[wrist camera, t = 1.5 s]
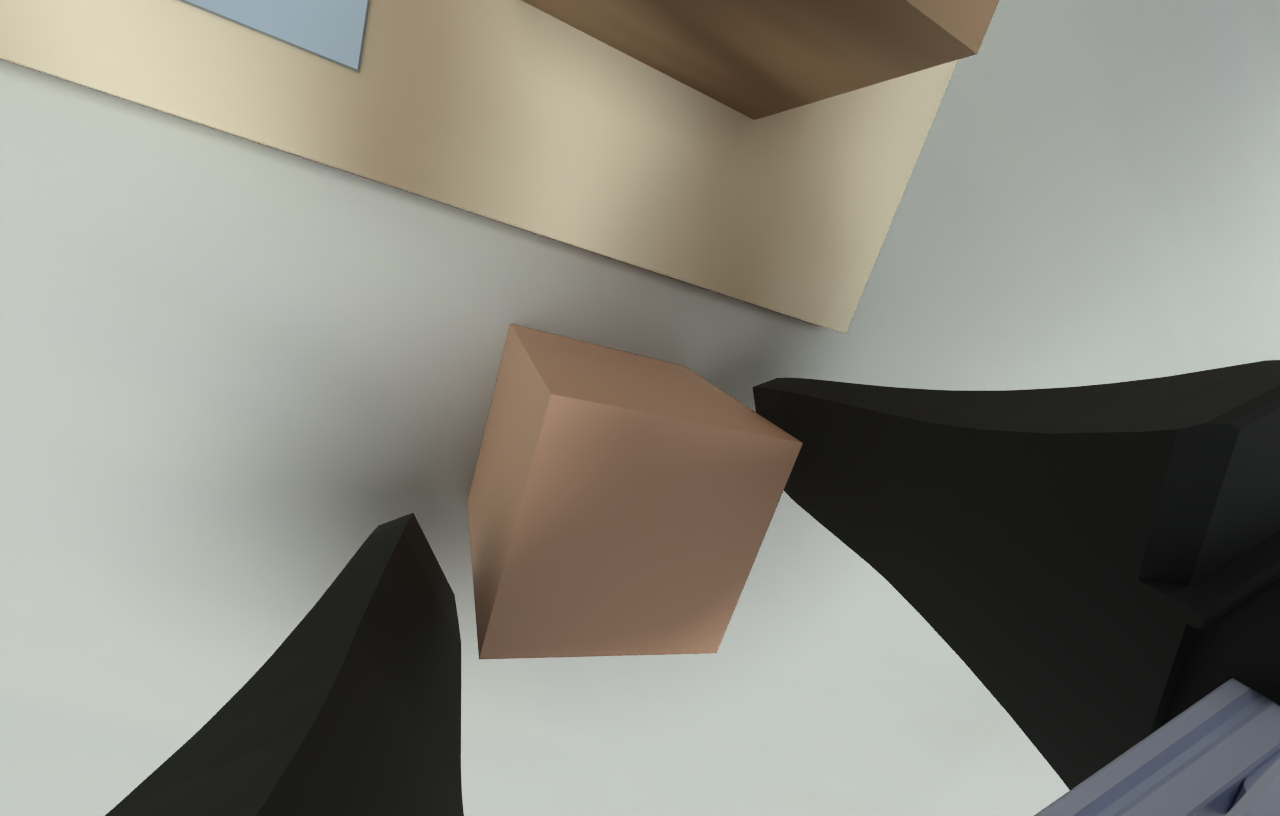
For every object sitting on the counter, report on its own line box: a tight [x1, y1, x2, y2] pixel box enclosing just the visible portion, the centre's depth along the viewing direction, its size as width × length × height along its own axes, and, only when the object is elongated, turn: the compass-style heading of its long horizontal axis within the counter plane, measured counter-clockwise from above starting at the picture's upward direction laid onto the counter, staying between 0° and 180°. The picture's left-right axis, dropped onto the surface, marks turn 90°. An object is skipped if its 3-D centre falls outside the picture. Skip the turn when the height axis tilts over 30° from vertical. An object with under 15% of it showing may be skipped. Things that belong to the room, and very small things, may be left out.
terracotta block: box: [467, 324, 803, 659], centre depth 11 cm, size 4×4×5 cm
